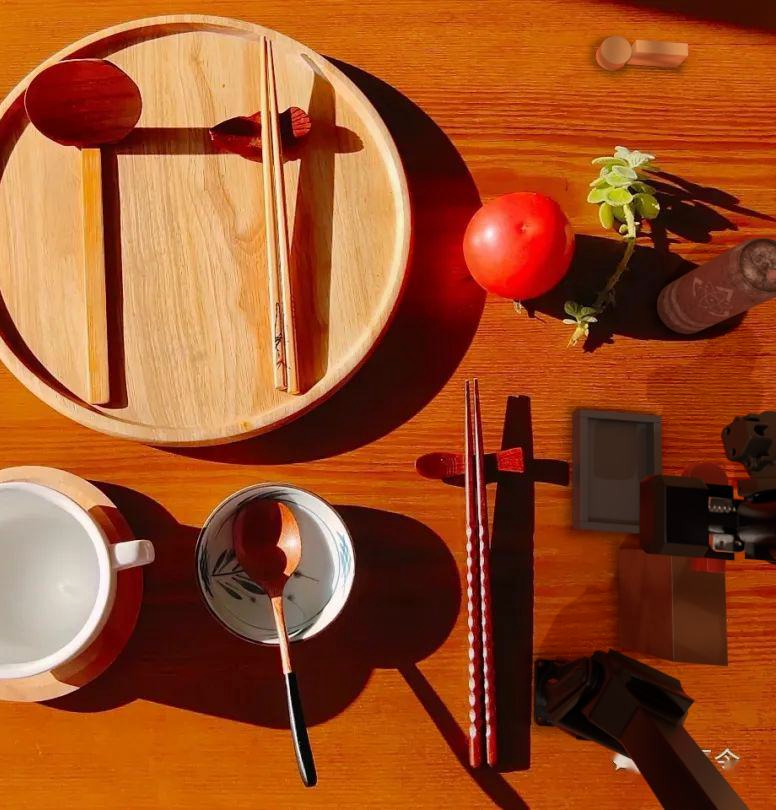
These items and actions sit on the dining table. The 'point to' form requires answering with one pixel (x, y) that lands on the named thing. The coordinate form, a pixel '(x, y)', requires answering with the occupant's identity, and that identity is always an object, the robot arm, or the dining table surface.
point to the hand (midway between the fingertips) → (701, 525)
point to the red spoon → (712, 476)
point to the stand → (671, 609)
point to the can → (720, 287)
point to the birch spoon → (640, 53)
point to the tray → (612, 468)
